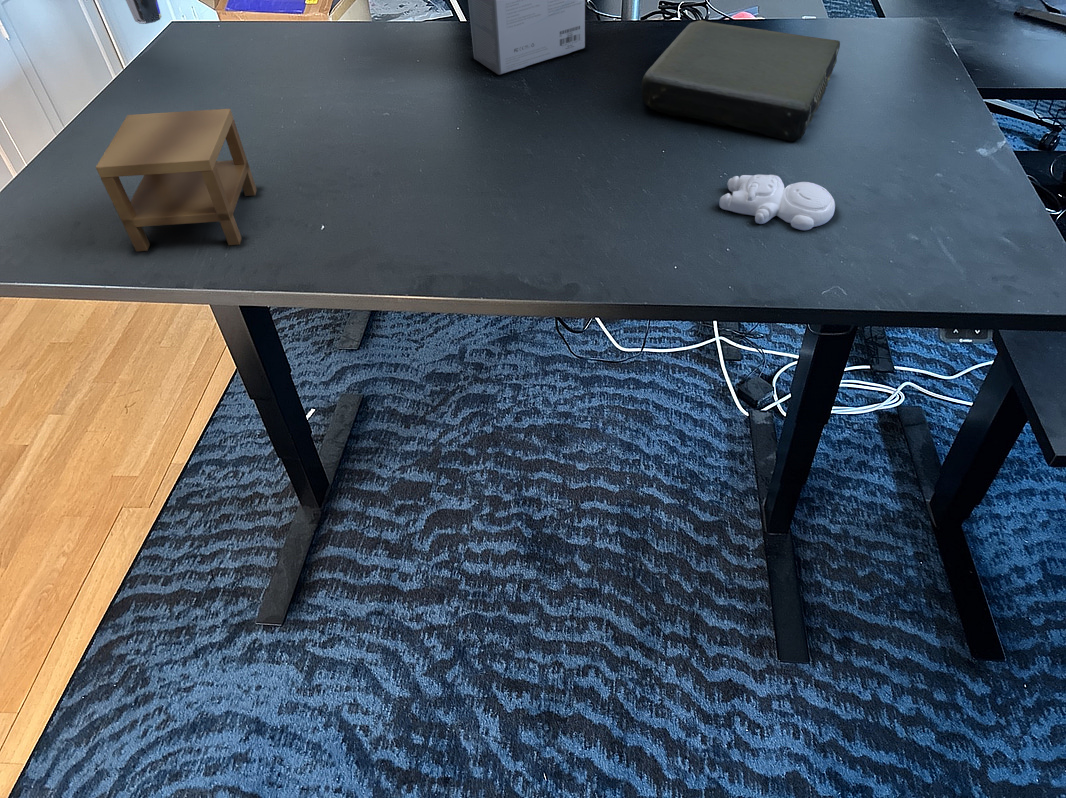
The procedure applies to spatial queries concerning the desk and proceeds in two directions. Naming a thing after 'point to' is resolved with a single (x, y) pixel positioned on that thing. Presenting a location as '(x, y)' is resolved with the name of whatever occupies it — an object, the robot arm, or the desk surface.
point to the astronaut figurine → (779, 200)
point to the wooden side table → (177, 171)
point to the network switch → (742, 78)
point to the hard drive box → (525, 31)
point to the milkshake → (144, 10)
